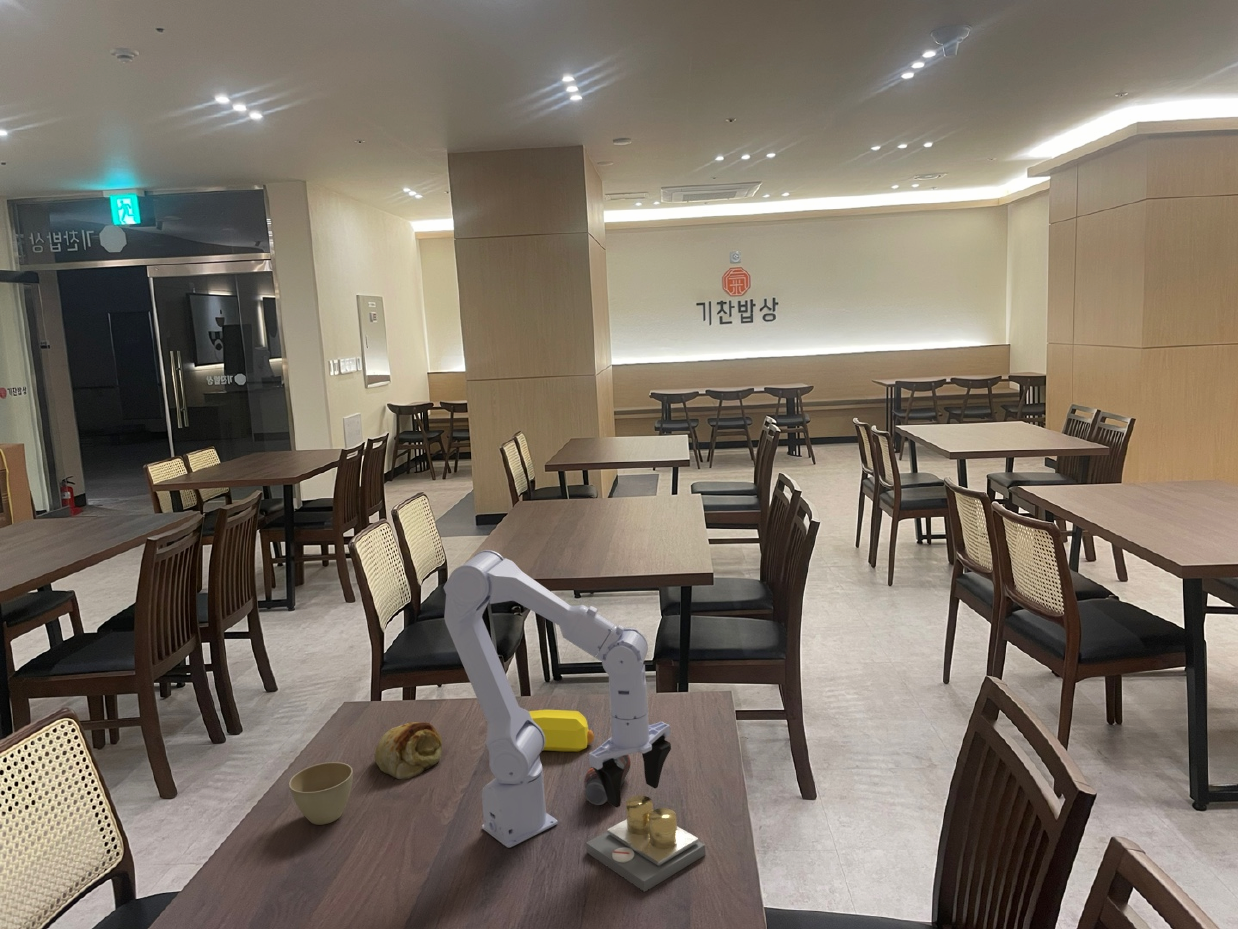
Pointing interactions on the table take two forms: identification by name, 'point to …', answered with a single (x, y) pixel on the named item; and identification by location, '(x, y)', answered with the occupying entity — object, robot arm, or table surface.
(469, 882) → the table surface
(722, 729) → the table surface
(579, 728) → the yellow mustard bottle
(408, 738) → the pastry
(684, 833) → the pan
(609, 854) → the scale
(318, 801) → the flower pot
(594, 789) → the supplement bottle
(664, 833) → the cylinder
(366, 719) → the table surface
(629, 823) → the cylinder
